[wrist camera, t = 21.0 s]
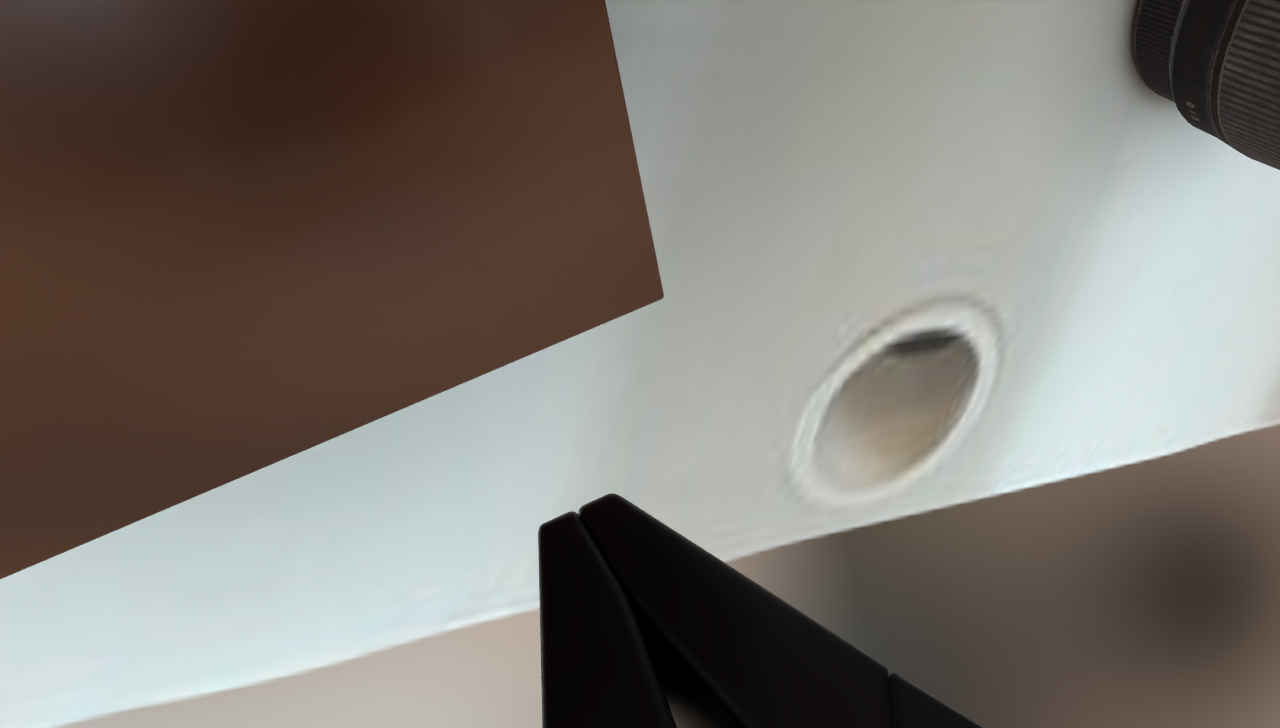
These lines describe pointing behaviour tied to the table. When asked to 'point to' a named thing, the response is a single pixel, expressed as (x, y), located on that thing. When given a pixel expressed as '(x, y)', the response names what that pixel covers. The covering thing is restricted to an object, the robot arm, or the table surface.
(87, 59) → the cabinet
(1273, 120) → the camera lens
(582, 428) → the table surface
